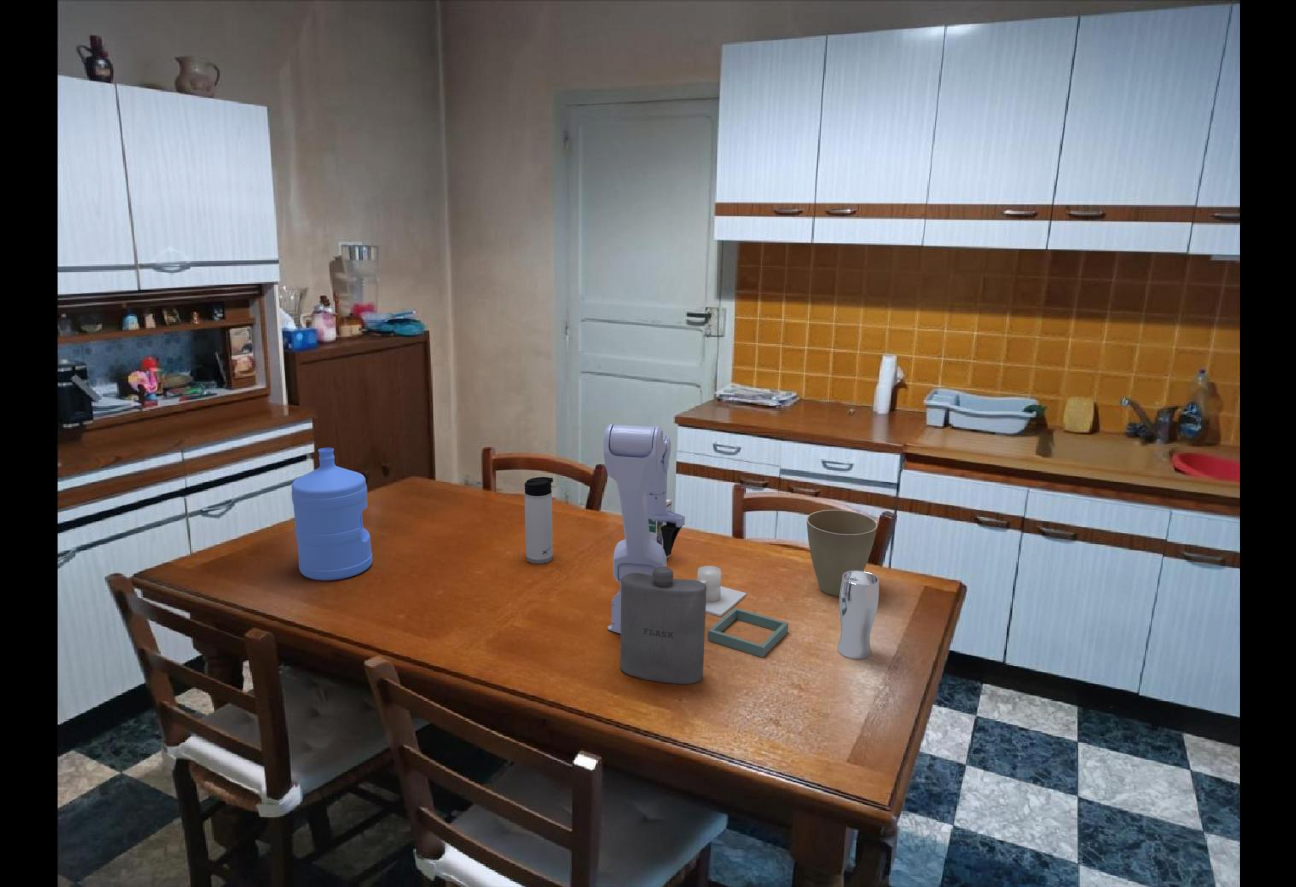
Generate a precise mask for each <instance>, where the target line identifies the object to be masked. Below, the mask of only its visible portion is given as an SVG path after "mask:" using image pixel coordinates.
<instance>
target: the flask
mask: <svg viewBox="0 0 1296 887" xmlns="http://www.w3.org/2000/svg"><path fill="white" fill-rule="evenodd" d="M620 588H621V634H620V655H619V656H620V666H619V668H620V670H621V672H623V673H624V674H626V675H629V676H631V677H634V678H638V679H640V680H641V679H642V680H646V681H651V682H657V683H663V684H664V683H665V684H676V685H693V684H697V683H699V682H700V681H702V680H703V678H704V660H705V659H704V656H705V636H706V635H705V634H706V613H705V612H706V585H705V584H704V583H702V582H700V581H697V579H688V578H687V579H685V578H684V579H683V578H674V570H673V569H671V568H670V567H668V566H666V567H657V568H655V569H654V570H653V576H651V575H646V574H642V573H630V574H627V575H625V576H623V577H622V579H621V586H620Z"/></svg>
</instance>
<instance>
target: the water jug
mask: <svg viewBox="0 0 1296 887" xmlns="http://www.w3.org/2000/svg"><path fill="white" fill-rule="evenodd" d="M334 451H335V449H334V448H333V447H322V448H319V449H318V451H317V452H318V453H319V456H318V460H319V467H318V468H316V469H314V470H312V471H309V472H307V473H305V474H304V475H302V476H300V477H297V478H296V479H294V481H292V483H291V501H292V505H293V514H294V515H293V516H294V523H295V524H294V525H295V526H294V532H295V537H296V543H297V552H298V554H297V555H298V568H299V569H298V570H299V572H300V574H302V575H303V576H304V577H306V578H308V579H312V580H315V581H337V580H344V579H348V578H351V577H353V576H357V575H359V574H362V573H364V572H365V571H366V570H368V569H369V568H370V567H371V566H372V564H373V551H372V544H371V535H370V532H369V531H368V530H367V529H366V528H365V527H364V523H363V522H364V521H363V511H365V510H366V509H367V508H368V486H367V483H366V481H367V480H366V477H365V476H364V474H362V473H360V472H359V471H358V472H357V471H353V470H350V469H347V468H344V467H341V466H337V465H336V464H335V455H334Z"/></svg>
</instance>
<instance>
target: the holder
mask: <svg viewBox="0 0 1296 887" xmlns="http://www.w3.org/2000/svg"><path fill="white" fill-rule="evenodd" d="M736 620H738V621H741V622H745V623H748V624H751V625H755V626H758V627H762V628H765V629H768V630H772V631H774V632H772V634H771V635H770V636H769V637H767V639H766V640H765V641H764V642H763V643H762V644H761V643H757V642H754V641H751V640H746V639H745V638H744V639H743V638H741V637H737V636H734V635H730V634H727V633H724V631H725V630H726V629H727V628H728V627H730V626H731V624H732V623H734V621H735V622H736ZM788 632H789V622H786V621H782V620H780V619H776V618H772V617H769V616H766V615H763V614H759V613H756V612H751V611H748V610H745V609H741V608H738V607H733V608H732V610H729V611H728V612H727V614H725V615H723V616H722V618H721V619H719V621H717V622H716V623H715V624H714V625H712V627H710V628H709V629H708V630H707V641H709V642H712V643H715V644H718V645H722V646H725V647H729V648H732V649H735V650H738V651H741V652H744V653H747V654H750V655H754V656H757V657H760V658H764V657H765V656H767V655H768V653H769V652H770V651H771V650H772V649H773V648H774V647H775V646H776V645H777V644H778V643H779V642H780V641H781V640H782V639H783V638H784V637H785V635H787V634H788Z"/></svg>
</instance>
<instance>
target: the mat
mask: <svg viewBox="0 0 1296 887" xmlns="http://www.w3.org/2000/svg"><path fill="white" fill-rule="evenodd" d="M745 597H747V592H743V591H740V590H736V589H733V588H728V587H725V586H722V585H721V598H720V599H719V600H718V601H715V602H706V612H705V614H709V615H713V616H716V617H719V618H721V617H722V618H723V617H724V616H725V615H726V613H728V612H730V611H731V609H733V608H734V607H735V606H736V605H737V604H738V603H739V602H741V601H742V600H743V599H744V598H745Z"/></svg>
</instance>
